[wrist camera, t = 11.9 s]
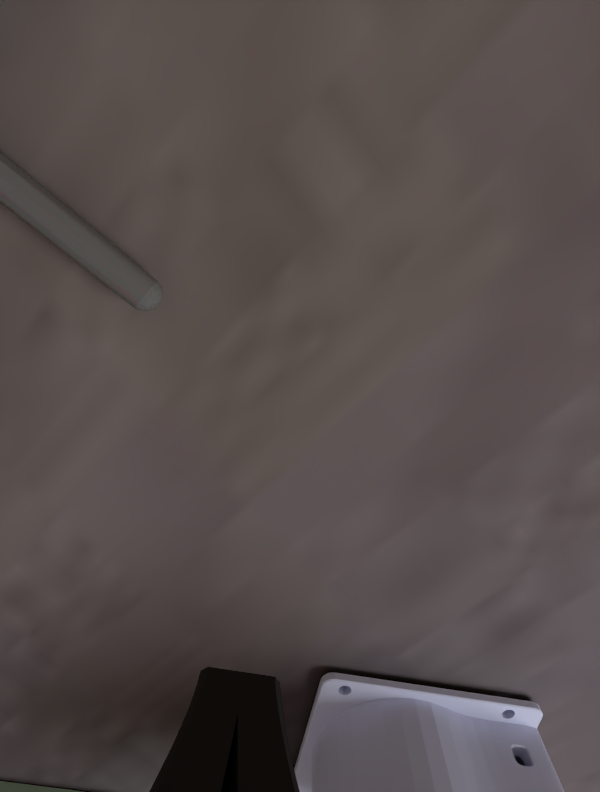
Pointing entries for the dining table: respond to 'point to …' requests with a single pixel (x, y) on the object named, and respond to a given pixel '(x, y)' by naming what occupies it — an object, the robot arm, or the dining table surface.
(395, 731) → the robot arm
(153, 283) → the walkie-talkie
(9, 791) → the board
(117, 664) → the dining table surface
